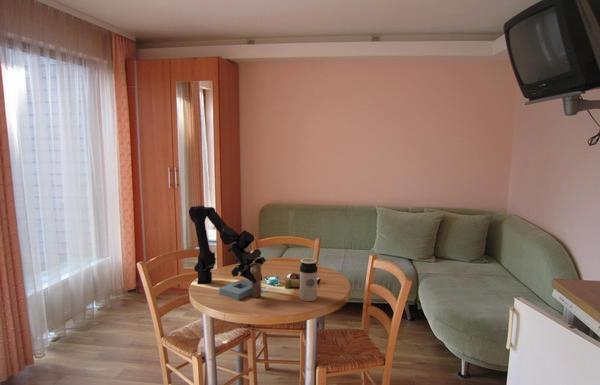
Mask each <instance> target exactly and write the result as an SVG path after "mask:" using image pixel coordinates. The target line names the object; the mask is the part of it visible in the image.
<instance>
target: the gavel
mask: <svg viewBox="0 0 600 385" xmlns="http://www.w3.org/2000/svg"><path fill="white" fill-rule="evenodd" d="M291 275H292V276H291V279H289V278H284V288H285V289H290V288H300V278H297V274H296V273H295V272H292V273H291Z"/></svg>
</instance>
